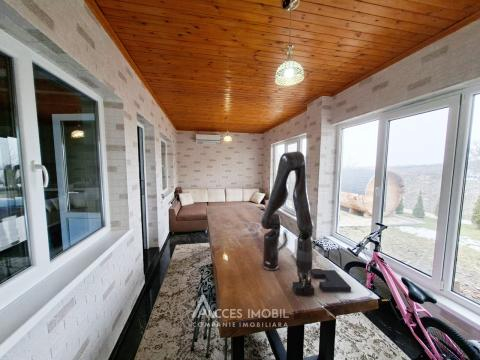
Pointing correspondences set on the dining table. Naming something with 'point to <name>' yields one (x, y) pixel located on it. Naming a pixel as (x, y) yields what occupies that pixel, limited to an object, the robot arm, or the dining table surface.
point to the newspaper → (314, 264)
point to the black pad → (299, 288)
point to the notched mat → (331, 281)
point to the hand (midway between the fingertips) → (303, 290)
